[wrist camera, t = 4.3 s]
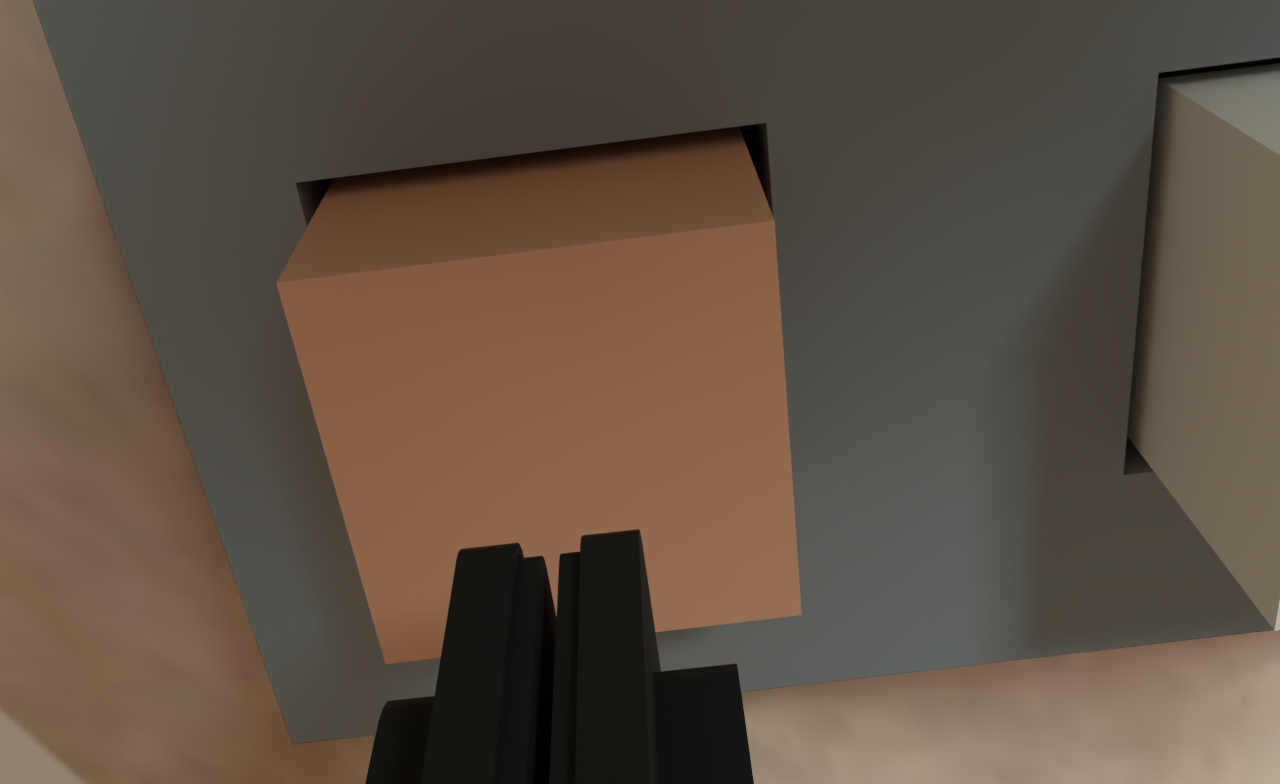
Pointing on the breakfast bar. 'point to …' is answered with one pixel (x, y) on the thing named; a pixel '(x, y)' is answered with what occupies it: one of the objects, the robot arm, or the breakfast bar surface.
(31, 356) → the breakfast bar surface
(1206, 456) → the cream key
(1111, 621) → the key panel
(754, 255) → the rust key
